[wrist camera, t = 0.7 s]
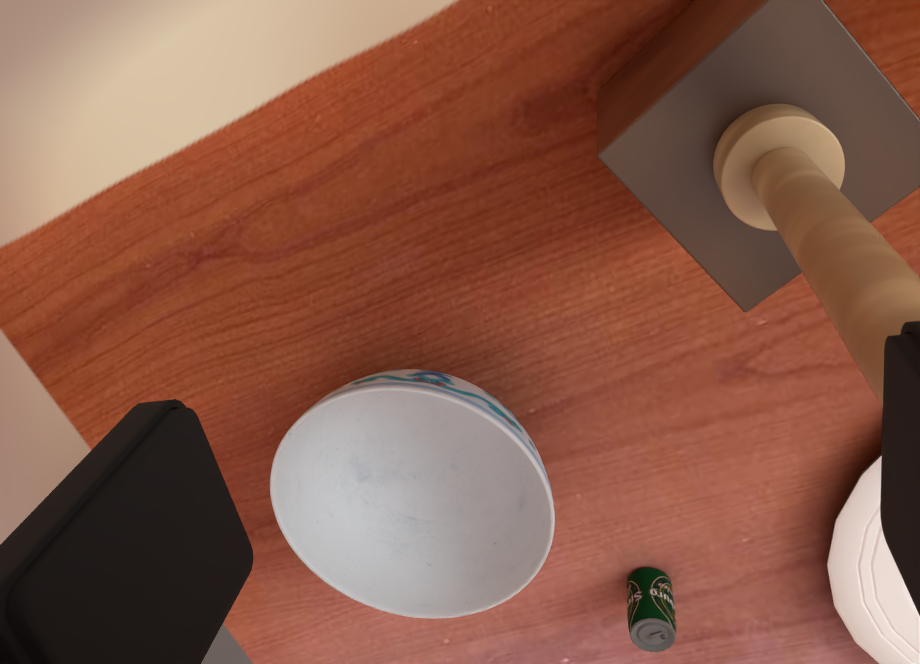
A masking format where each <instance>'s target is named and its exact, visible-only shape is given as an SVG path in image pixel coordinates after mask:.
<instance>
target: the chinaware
mask: <svg viewBox="0 0 920 664" xmlns="http://www.w3.org/2000/svg"><path fill="white" fill-rule="evenodd" d="M270 493H271V501H272V506H273V510H274V514H275V517H276V520H277V522H278V525H279V527H280V529H281V531H282V533H283V535H284V537H285V538H286V540H287V542H288V543H289V545H290V546H291V548H292V549H293V550H294V552H295V553H296V554H297V556H298V557H299V558H300V559H301V560H302V561H303V563H304V564H305V565H306V566H307V567H308V568H309V569H310V570H311V571H313V572H314V573H315V574H316V575H317V576H318V577H319V578H321V579H322V580H323V581H325V582H326V583H327V584H329V585H330V586H332V587H333V588H334V589H336V590H338V591H339V592H341V593H343V594H344V595H346V596H348V597H350V598H352V599H354V600H356V601H358V602H360V603H363V604H365V605H367V606H370V607H373V608H376V609H379V610H382V611H385V612H389V613H393V614H397V615H403V616H409V617H417V618H452V617H460V616H465V615H470V614H474V613H478V612H481V611H484V610H487V609H490V608H492V607H494V606H497V605H499V604H501V603H503V602H504V601H506V600H508V599H509V598H511V597H513V596H514V595H515V594H517V593H518V592H519V591H521V590H522V589H523V588H524V587H525V586H526V585H527V584H528V583H529V582H530V581H531V580H532V579H533V578H534V577H535V575H536V574H537V573H538V571H539V570H540V568H541V567H542V565H543V563H544V561H545V560H546V557H547V555H548V553H549V550H550V547H551V544H552V540H553V534H554V525H555V513H554V503H553V497H552V492H551V488H550V484H549V480H548V476H547V473H546V470H545V467H544V465H543V462H542V460H541V457H540V455H539V453H538V451H537V449H536V447H535V445H534V443H533V441H532V440H531V438H530V436H529V435H528V433H527V432H526V430H525V429H524V427H523V426H522V425H521V423H520V422H519V421H518V420H517V419H516V417H515V416H514V415H513V414H512V413H511V412H510V411H509V410H508V409H507V408H506V407H505V406H504V405H503V404H502V403H500V402H499V401H498V400H497V399H496V398H494V397H493V396H492V395H490V394H489V393H487V392H486V391H484V390H483V389H481V388H479V387H477V386H475V385H474V384H472V383H469V382H467V381H465V380H463V379H460V378H458V377H455V376H452V375H448V374H445V373H440V372H435V371H429V370H420V369H400V370H391V371H384V372H380V373H375V374H372V375H368V376H365V377H362V378H359V379H357V380H354V381H352V382H350V383H348V384H346V385H344V386H342V387H340V388H338V389H336V390H334V391H333V392H331V393H330V394H328V395H327V396H325V397H324V398H322V399H321V400H319V401H318V402H317V403H316V404H314V405H313V406H312V407H311V408H309V409H308V410H307V411H306V412H305V413H304V414H303V415H302V416H301V417H300V418H299V419H298V420H297V421H296V422H295V423H294V424H293V425H292V426H291V428H290V429H289V430H288V432H287V433H286V434H285V436H284V437H283V439H282V441H281V443H280V445H279V447H278V449H277V451H276V454H275V457H274V460H273V464H272V469H271V476H270Z"/></svg>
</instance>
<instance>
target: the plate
mask: <svg viewBox="0 0 920 664" xmlns="http://www.w3.org/2000/svg"><path fill="white" fill-rule="evenodd" d="M881 460H882V453H881V454H880V455H879V456H878V457H877V458H876V459H875V460H874V461H873V462H872V463H871V464H870V465H869V466H868V467H867V468H866V469H865V470H864V471H863V472H862V473H861V474H860V476H859V478H858V479H857V481H856V483H855V485H854V486H853V488H852V490H851V492H850V493H849V495H848V497H847V499H846V500H845V502H844V504H843V506H842V507H841V509H840V511H839V513H838V514H837V516H836V518H835V522H834V527H833V532H832V538H831V543H830V548H829V553H828V558H827V568H828V574H829V580H830V585H831V591H832V597H833V603H834V607H835V608H836V610H837V612H838V613H839V615H840V617H841V619H842V620H843V622H844V624H845V625H846V627H847V629H848V630H849V632H850V634H851V636H852V637H853V639H854V641H855V642H856V643H857V644H858V645H859V646H860V647H861V648H862V649H863V650H864V651H866V652H867V653H868V654H869V655H870V656H871V657H872V658H873V659H875V660H876V661H877V662H878V663H879V664H920V616H919V614H918V611H917V609H916V607H915V605H914V603H913V600H912V598H911V596H910V594H909V592H908V589H907V587H906V585H905V583H904V581H903V578H902V576H901V574H900V572H899V570H898V567H897V565H896V563H895V561H894V559H893V556H892V554H891V552H890V550H889V548H888V545H887V543H886V540H885V537H884V534H883V530H882V525H881V517H880V501H881Z"/></svg>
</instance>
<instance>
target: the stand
mask: <svg viewBox="0 0 920 664" xmlns="http://www.w3.org/2000/svg"><path fill="white" fill-rule="evenodd" d="M768 104H789V105H794V106H797V107H800V108H802V109H804V110H806V111H808V112H809V113H810V114H812V115H813V116H814V117H815V118H817V119H818V120H819V121H820V122H821V123H822V124H823V125H825V126H826V127H827V128H828V129H829V130H830V131H831V132H832V133H833V134H834V135H835V137H836V138H837V139H838V141H839V143H840V145H841V147H842V150H843V153H844V159H845V172H844V178H843V182H842V185H841V187H840V189H839V190H840V191H841V192H842V193H843V194H844V195H845V196H846V197H847V199H848V200H849V201H850V202H851V203H852V204H853V205H854V206H855V207H856V208H857V209H858V211H859V212H860V213H861V214H862V215H863V216H864V217H865V218H866V219H867V220H868V221H869V222H870V223H871V222H872V221H874V220H875V219H876V218H878V217H879V216H880V215H882V214H883V213H885V212H886V211H887V210H889V209H890V208H892V207H893V206H894V205H896V204H897V203H898V202H900V201H901V200H903V199H904V198H905V197H907V196H908V195H910V194H911V193H912V192H914V191H915V190H916V189H918V188H919V187H920V118H919V117H918V116H917V114H916V113H915V112H914V111H913V109H912V108H911V107H910V106H909V104H908V103H907V102H906V101H905V100H904V98H903V97H902V96H901V95H900V93H899V92H898V91H897V90H896V88H895V87H894V86H893V85H892V84H891V82H890V81H889V80H888V79H887V77H886V76H885V75H884V74H883V73H882V71H881V70H880V69H879V68H878V66H877V65H876V64H875V63H874V61H873V60H872V59H871V58H870V57H869V55H868V54H867V53H866V52H865V50H864V49H863V48H862V47H861V45H860V44H859V43H858V42H857V41H856V39H855V38H854V37H853V36H852V34H851V33H850V32H849V31H848V30H847V28H846V27H845V26H844V25H843V23H842V22H841V21H840V20H839V18H838V17H837V16H836V15H835V14H834V12H833V11H832V10H831V9H830V7H829V6H828V5H827V4H826V2H825V1H824V0H693V1H692V2H691V3H690V4H689V5H688V6H687V7H686V8H685V9H683V10H682V11H681V12H680V13H679V14H678V15H677V16H676V17H675V18H674V19H673V20H672V21H671V22H670V23H669V24H668V25H667V26H666V27H665V28H664V29H663V30H662V31H661V32H659V33H658V34H657V35H656V36H655V37H654V38H653V39H652V40H651V41H650V42H649V43H648V44H647V45H646V46H645V47H644V48H643V49H642V50H641V51H640V52H639V53H638V54H637V55H635V56H634V57H633V58H632V59H631V60H630V61H629V62H628V63H627V64H626V65H625V66H624V67H623V68H622V69H621V70H620V71H619V72H618V73H617V74H616V75H615V76H614V77H613V78H611V79H610V80H609V81H608V82H607V83H606V84H605V85H604V86H603V87H602V88H601V89H600V90H599V91H598V105H597V157H598V159H599V160H600V161H601V162H602V163H603V164H604V165H605V166H606V167H607V168H608V169H609V170H610V171H611V172H612V173H613V174H614V175H615V176H616V177H617V179H618V180H619V181H620V182H621V183H622V184H623V185H624V186H625V187H626V188H627V189H628V190H629V191H630V192H631V193H632V194H633V195H634V196H635V198H636V199H637V200H638V201H639V202H640V203H641V204H642V205H643V206H644V207H645V208H646V209H647V210H648V211H649V212H650V213H651V214H652V215H653V216H654V218H655V219H656V220H657V221H658V222H659V223H660V224H661V225H662V226H663V227H664V228H665V229H666V230H667V231H668V232H669V233H670V234H671V235H672V237H673V238H674V239H675V240H676V241H677V242H678V243H679V244H680V245H681V246H682V247H683V248H684V249H685V250H686V251H687V252H688V253H689V254H690V255H691V257H692V258H693V259H694V260H695V261H696V262H697V263H698V264H699V265H700V266H701V267H702V268H703V269H704V270H705V271H706V272H707V273H708V274H709V276H710V277H711V278H712V279H713V280H714V281H715V282H716V283H717V284H718V285H719V286H720V287H721V288H722V289H723V290H724V291H725V292H726V293H727V295H728V296H729V297H730V298H731V299H732V300H733V301H734V302H735V303H736V304H737V305H738V306H739V307H740V308H741V309H742V310H743V311H744V312H748V311H749V310H751V309H752V308H753V307H755V306H756V305H757V304H759V303H760V302H762V301H763V300H764V299H766V298H767V297H769V296H770V295H771V294H773V293H774V292H775V291H777V290H778V289H780V288H781V287H782V286H784V285H785V284H786V283H788V282H789V281H791V280H792V279H793V278H795V277H796V276H798V275H799V274H800V273H802V271H801V269H800V267H799V266H798V264H797V262H796V261H795V259H794V257H793V255H792V254H791V252H790V250H789V249H788V247H787V245H786V244H785V242H784V240H783V239H782V237H781V235H780V233H779V232H778V231H770V230H762V229H758V228H755V227H752V226H750V225H748V224H746V223H744V222H743V221H741V220H740V219H738V218H737V217H736V216H735V215H734V214H733V213H732V212H731V210H730V209H729V208H728V206H727V204H726V202H725V200H724V198H723V196H722V194H721V192H720V189H719V187H718V185H717V182H716V180H715V176H714V170H713V159H714V154H715V150H716V147H717V144H718V142H719V140H720V138H721V136H722V135H723V133H724V132H725V130H726V129H727V128H728V127H729V125H730V124H732V123H733V122H734V121H735V120H736V119H737V118H738V117H740V116H741V115H743V114H744V113H746V112H748V111H750V110H752V109H754V108H757V107H760V106H763V105H768Z"/></svg>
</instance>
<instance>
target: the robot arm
mask: <svg viewBox="0 0 920 664" xmlns="http://www.w3.org/2000/svg"><path fill="white" fill-rule="evenodd" d="M880 517H881V525H882V530H883V534H884V537H885V540H886V543H887V545H888V548H889V550H890V552H891V554H892V556H893V559H894V561H895V563H896V565H897V567H898V570H899V572H900V574H901V576H902V578H903V581H904V583H905V585H906V587H907V589H908V592H909V594H910V596H911V598H912V600H913V603H914V605H915V607H916V609H917V611H918V614H919V616H920V321H911V322H905V323H904V325H903V326H902V329H901V334H900V335H892V336H888V337H887V338H886V341H885V347H884V379H883V420H882V460H881V501H880ZM252 565H253V550H252V546H251V543H250V541H249V539H248V536H247V534H246V531H245V529H244V527H243V524H242V522H241V519H240V517H239V515H238V512H237V510H236V507H235V505H234V503H233V500H232V498H231V495H230V493H229V491H228V488H227V486H226V483H225V481H224V479H223V476H222V474H221V471H220V469H219V467H218V464H217V462H216V459H215V457H214V455H213V452H212V450H211V447H210V445H209V442H208V440H207V438H206V435H205V433H204V430H203V428H202V426H201V423H200V421H199V418H198V416H197V415H196V413H195V412H194V411H193V410H192V409H190V408H186V406H185V405H184V404H183V403H182V402H181V401H178V400H176V399H174V400H165V401H155V402H146V403H139V404H137V405H136V406H134V407H133V408H132V409H131V410H130V411H129V412H128V413H127V414H126V415H125V416H124V417H123V419H122V420H121V421H120V422H119V423H118V424H117V425H116V426H115V427H114V428H113V429H112V430H111V431H110V432H109V433H108V434H107V435H106V436H105V437H104V438H103V439H102V440H101V441H100V442H99V443H98V444H97V445H96V446H95V447H94V449H93V450H92V451H91V452H90V453H89V454H88V455H87V456H86V457H85V458H84V459H83V460H82V461H81V462H80V463H79V464H78V465H77V466H76V467H75V468H74V469H73V470H72V471H71V472H70V473H69V475H67V476H66V478H65V479H64V480H63V481H62V482H61V483H60V484H59V485H58V486H57V487H56V488H55V489H54V490H53V491H52V492H51V493H50V494H49V495H48V496H47V497H46V498H45V499H44V500H43V501H42V502H41V503H40V504H39V505H38V506H37V508H36V509H35V510H34V511H33V512H32V513H31V514H30V515H29V516H28V517H27V518H26V519H25V520H24V521H23V522H22V523H21V524H20V525H19V526H18V527H17V528H16V529H15V530H14V531H13V532H12V533H11V534H10V535H9V537H8V538H7V539H6V540H5V541H4V542H3V543H2V544H1V545H0V664H201V662H202V661H203V659H204V657H205V655H206V653H207V651H208V649H209V648H210V646H211V644H212V642H213V640H214V638H215V636H216V635H217V633H218V631H219V629H220V627H221V625H222V624H223V622H224V620H225V618H226V616H227V614H228V613H229V611H230V609H231V607H232V605H233V603H234V601H235V600H236V598H237V596H238V594H239V592H240V590H241V589H242V587H243V585H244V583H245V581H246V579H247V577H248V576H249V574H250V571H251V569H252Z"/></svg>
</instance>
